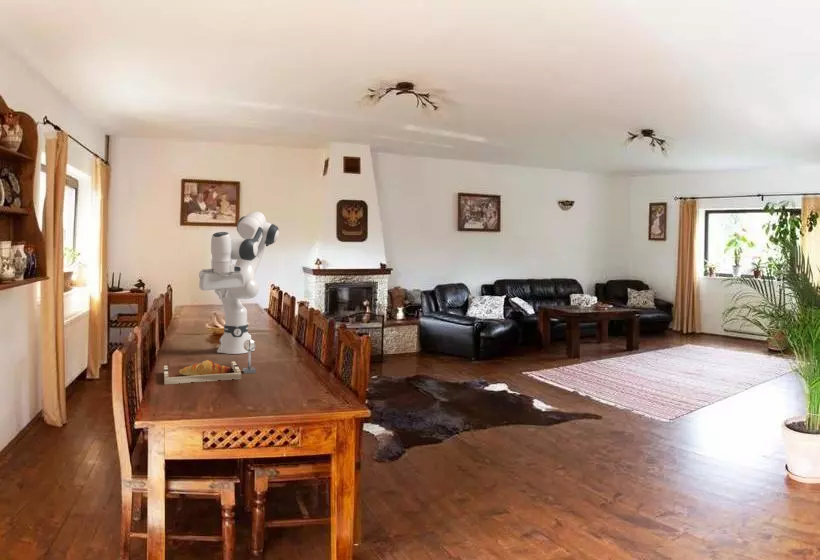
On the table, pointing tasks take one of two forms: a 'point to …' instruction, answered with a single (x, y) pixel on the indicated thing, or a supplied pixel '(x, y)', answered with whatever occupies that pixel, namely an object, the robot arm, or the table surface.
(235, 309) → the robot arm
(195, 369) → the croissant
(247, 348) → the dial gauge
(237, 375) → the frame
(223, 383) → the table surface
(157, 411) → the table surface
